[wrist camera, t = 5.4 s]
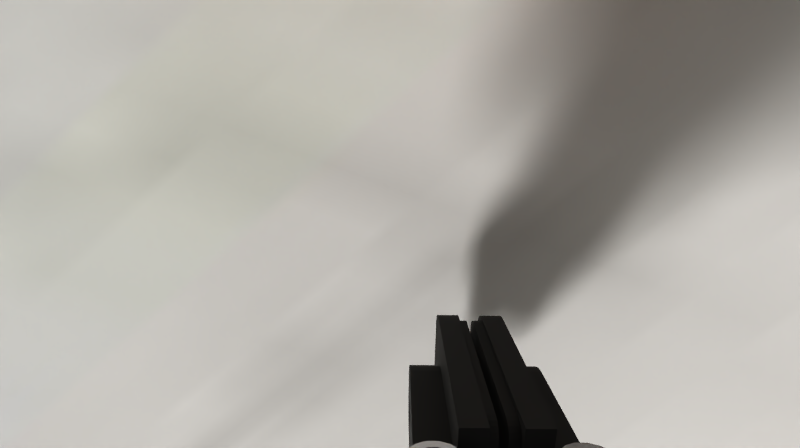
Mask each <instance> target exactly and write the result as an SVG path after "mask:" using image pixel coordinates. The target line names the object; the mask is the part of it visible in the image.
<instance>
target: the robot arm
mask: <svg viewBox="0 0 800 448" xmlns="http://www.w3.org/2000/svg"><path fill="white" fill-rule="evenodd" d="M409 448H604V447H602V446H599V445H595V444H590V443H580V442H579V440H578V439H577V437H576V435H575V433H574V431H573V429H572V428H571V426H570V424H569V422H568V420H567V418H566V417H565V415H564V413H563V411H562V409H561V407H560V406H559V404H558V402H557V400H556V398H555V396H554V395H553V393H552V391H551V389H550V387H549V385H548V384H547V382H546V380H545V378H544V376H543V374H542V373H541V371H540V370H539V368H537V367H526V365H525V363H524V361H523V359H522V357H521V355H520V353H519V351H518V349H517V347H516V345H515V343H514V341H513V339H512V337H511V335H510V333H509V331H508V329H507V327H506V325H505V323H504V321H503V319H502V317H501V316H479V318H478V321H472V322H471V330H470V331H469V328H468V325H467V322H466V321H460V320H459V317H458V315H437V320H436V344H435V365H410V366H409Z"/></svg>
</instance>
